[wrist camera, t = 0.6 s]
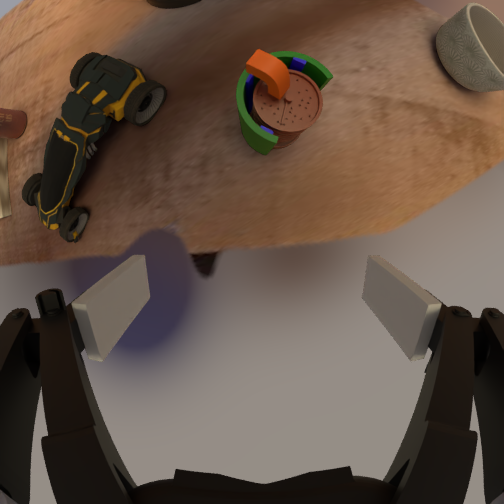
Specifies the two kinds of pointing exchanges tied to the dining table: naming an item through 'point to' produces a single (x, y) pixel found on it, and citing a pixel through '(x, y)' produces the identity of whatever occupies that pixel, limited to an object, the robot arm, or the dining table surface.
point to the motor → (279, 98)
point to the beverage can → (12, 123)
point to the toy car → (87, 134)
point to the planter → (473, 48)
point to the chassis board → (4, 181)
